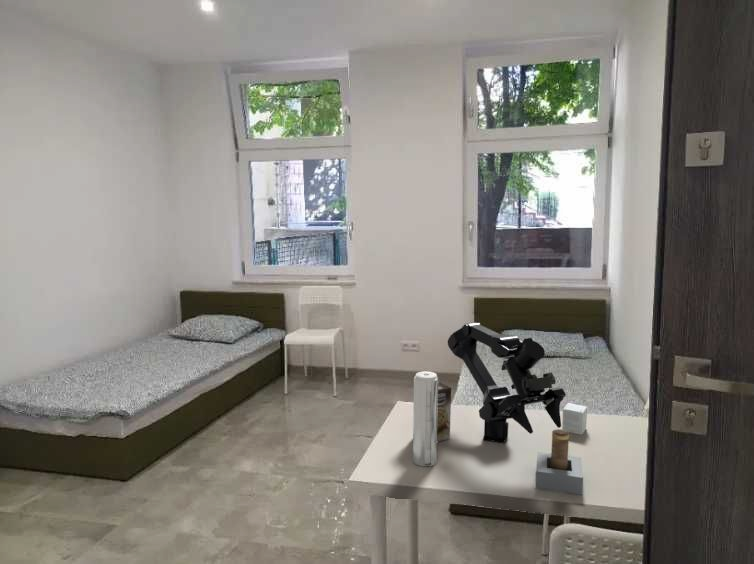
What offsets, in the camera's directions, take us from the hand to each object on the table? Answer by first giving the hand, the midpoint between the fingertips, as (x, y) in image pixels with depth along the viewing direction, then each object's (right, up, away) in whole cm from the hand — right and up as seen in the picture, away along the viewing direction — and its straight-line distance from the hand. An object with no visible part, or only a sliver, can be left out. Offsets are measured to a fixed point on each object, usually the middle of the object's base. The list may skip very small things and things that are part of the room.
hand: (545, 430), depth 146 cm
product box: (+17, -7, +27) cm, 33 cm away
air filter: (-31, -11, +7) cm, 34 cm away
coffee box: (-28, -8, +22) cm, 36 cm away
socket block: (+2, -12, -3) cm, 13 cm away
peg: (+2, -12, -3) cm, 13 cm away
